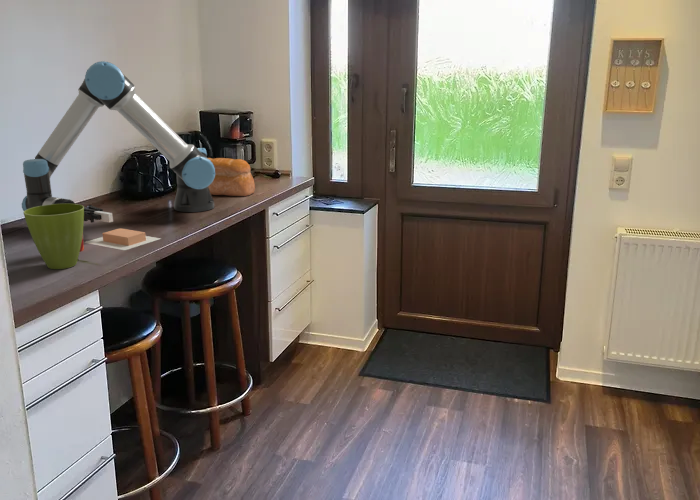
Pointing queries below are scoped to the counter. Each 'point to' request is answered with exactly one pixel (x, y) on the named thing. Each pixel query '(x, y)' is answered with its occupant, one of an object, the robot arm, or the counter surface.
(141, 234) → the card box
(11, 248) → the counter surface
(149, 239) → the mat
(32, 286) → the counter surface
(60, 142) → the robot arm
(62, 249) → the flower pot
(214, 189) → the bread
